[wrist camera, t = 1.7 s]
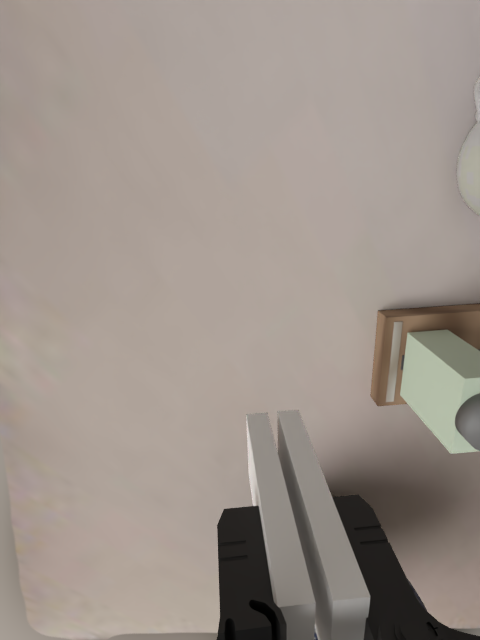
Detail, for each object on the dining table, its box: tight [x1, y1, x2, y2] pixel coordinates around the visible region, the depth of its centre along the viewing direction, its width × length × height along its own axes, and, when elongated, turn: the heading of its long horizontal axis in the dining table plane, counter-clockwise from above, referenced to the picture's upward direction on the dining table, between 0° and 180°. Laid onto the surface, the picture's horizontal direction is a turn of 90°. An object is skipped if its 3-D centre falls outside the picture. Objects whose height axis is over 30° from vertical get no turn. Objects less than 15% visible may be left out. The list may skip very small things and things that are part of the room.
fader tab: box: [400, 330, 480, 454], centre depth 34 cm, size 4×7×11 cm, turn 2°
